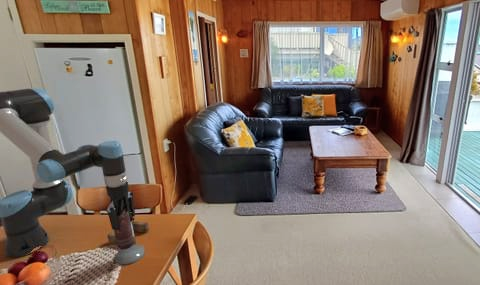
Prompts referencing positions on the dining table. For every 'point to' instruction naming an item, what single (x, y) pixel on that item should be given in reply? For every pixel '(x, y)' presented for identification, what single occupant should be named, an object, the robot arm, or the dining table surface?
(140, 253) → the coaster
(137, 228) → the rack
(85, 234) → the dining table surface
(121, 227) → the can
